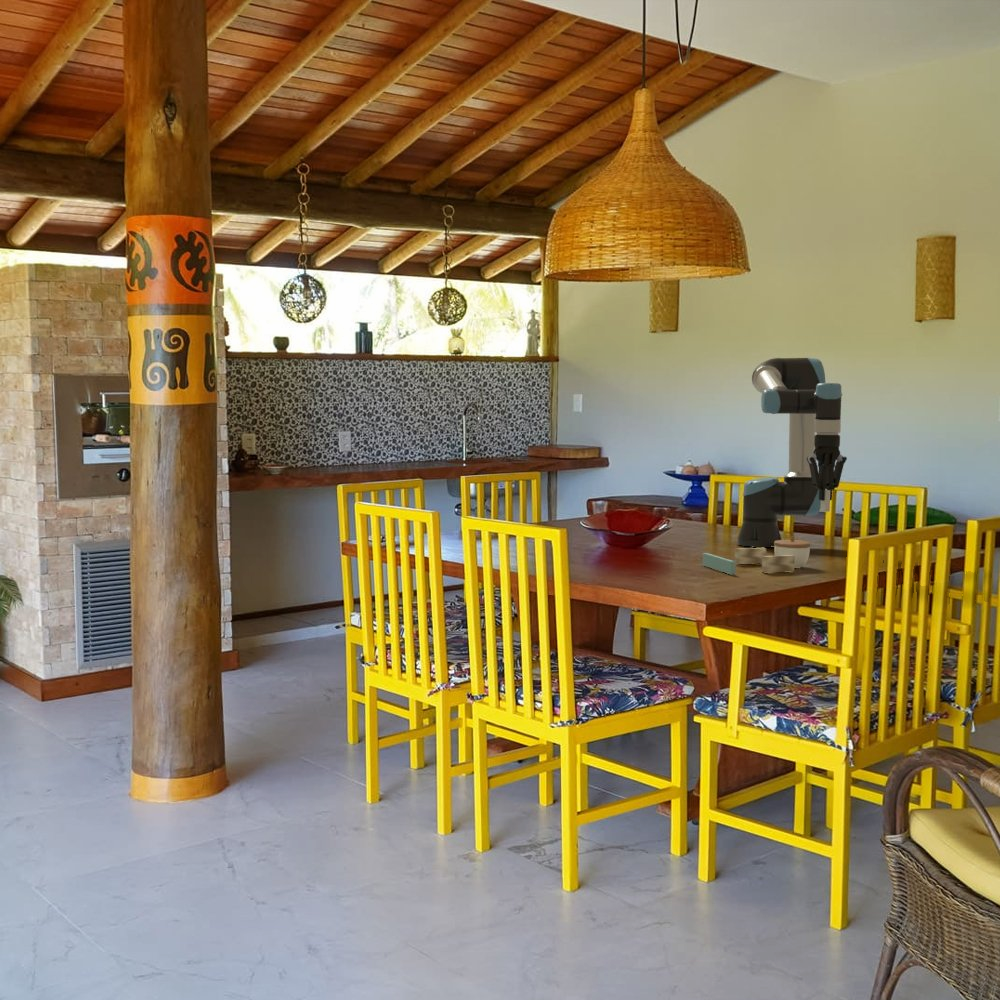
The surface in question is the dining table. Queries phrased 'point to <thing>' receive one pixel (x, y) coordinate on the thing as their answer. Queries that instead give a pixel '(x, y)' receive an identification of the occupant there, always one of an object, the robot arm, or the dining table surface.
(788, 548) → the lidded jar
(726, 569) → the bar
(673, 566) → the dining table surface
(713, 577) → the dining table surface
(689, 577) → the dining table surface
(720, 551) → the dining table surface
